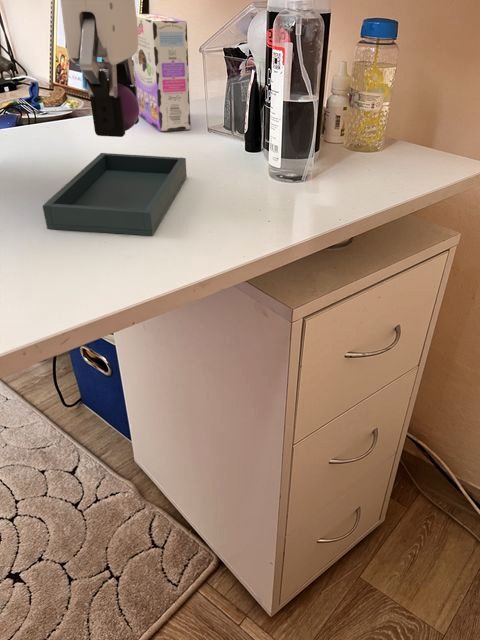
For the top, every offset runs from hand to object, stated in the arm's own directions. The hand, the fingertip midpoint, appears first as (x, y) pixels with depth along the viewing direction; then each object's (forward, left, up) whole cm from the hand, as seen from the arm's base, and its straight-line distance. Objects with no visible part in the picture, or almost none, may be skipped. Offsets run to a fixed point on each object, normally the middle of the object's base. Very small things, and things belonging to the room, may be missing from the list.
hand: (118, 127), depth 60 cm
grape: (0, 0, 0) cm, 0 cm away
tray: (0, 0, -8) cm, 9 cm away
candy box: (-4, +39, -9) cm, 40 cm away
